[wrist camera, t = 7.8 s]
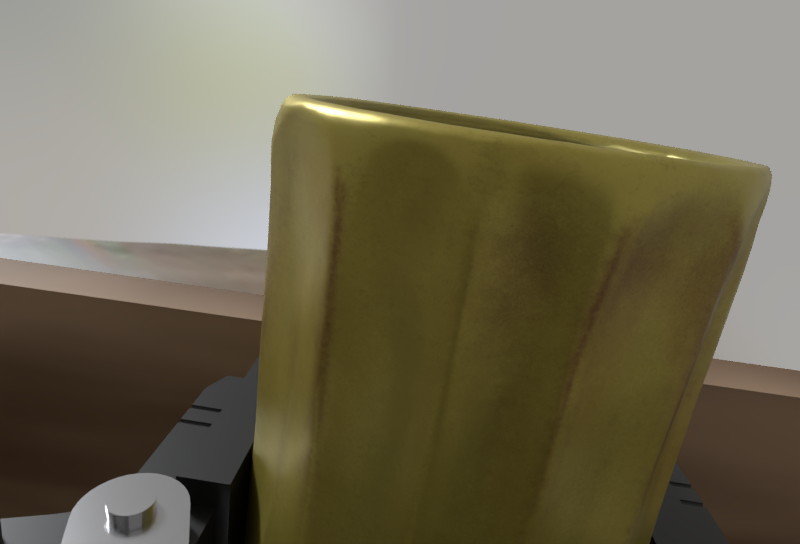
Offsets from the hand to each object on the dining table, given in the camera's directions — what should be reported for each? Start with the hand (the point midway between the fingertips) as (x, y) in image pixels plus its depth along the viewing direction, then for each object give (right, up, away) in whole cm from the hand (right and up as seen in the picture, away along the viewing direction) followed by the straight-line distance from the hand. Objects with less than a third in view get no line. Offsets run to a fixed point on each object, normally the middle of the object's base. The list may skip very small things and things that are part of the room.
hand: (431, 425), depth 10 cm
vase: (-1, -9, 0) cm, 9 cm away
